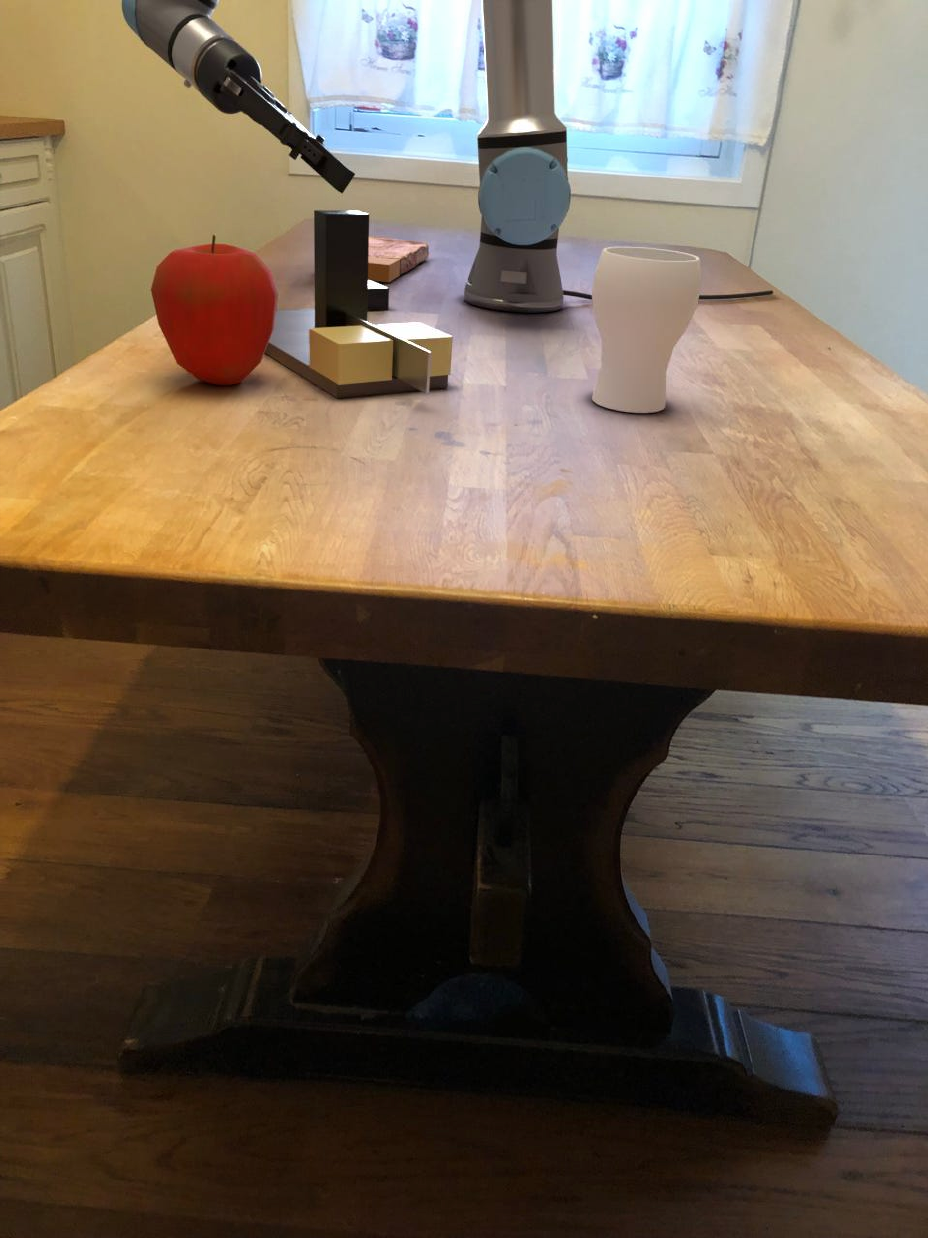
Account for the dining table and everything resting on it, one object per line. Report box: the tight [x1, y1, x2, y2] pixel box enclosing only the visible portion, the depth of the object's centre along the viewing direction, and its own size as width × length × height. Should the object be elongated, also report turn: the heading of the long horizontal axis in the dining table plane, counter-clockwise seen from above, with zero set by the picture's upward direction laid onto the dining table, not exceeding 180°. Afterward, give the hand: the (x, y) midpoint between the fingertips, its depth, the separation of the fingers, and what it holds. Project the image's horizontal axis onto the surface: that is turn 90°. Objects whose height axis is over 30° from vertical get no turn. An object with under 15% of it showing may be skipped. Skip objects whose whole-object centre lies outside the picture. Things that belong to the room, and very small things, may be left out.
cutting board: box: [264, 308, 449, 399], centre depth 110 cm, size 34×13×2 cm, turn 32°
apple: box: [150, 234, 279, 386], centre depth 94 cm, size 12×12×14 cm
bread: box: [368, 234, 430, 283], centre depth 166 cm, size 13×30×3 cm, turn 169°
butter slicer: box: [313, 209, 431, 394], centre depth 97 cm, size 21×5×14 cm, turn 32°
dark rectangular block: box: [367, 280, 390, 312], centre depth 136 cm, size 8×6×3 cm
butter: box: [309, 321, 454, 385], centre depth 99 cm, size 7×13×4 cm, turn 122°
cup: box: [591, 245, 702, 414], centre depth 97 cm, size 11×11×15 cm
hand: (345, 181), depth 112 cm, fingers closed
